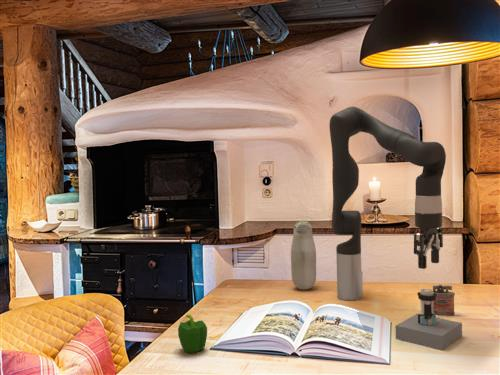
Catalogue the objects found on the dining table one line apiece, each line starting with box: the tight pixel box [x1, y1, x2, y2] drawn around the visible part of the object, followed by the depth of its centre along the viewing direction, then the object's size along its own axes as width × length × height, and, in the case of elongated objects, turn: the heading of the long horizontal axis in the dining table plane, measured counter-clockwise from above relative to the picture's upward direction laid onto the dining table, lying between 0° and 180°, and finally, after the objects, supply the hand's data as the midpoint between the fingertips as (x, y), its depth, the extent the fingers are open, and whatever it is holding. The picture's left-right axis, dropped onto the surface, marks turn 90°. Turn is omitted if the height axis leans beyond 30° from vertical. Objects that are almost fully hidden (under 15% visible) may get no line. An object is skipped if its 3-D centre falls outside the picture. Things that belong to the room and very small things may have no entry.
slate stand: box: [395, 313, 463, 351], centre depth 150 cm, size 14×14×4 cm
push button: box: [417, 288, 440, 325], centre depth 150 cm, size 7×5×10 cm
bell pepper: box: [177, 313, 208, 354], centre depth 146 cm, size 8×8×10 cm
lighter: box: [432, 283, 456, 317], centre depth 170 cm, size 8×3×10 cm, turn 70°
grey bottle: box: [290, 220, 317, 291], centre depth 206 cm, size 10×10×28 cm
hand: (428, 265), depth 148 cm, fingers open, 8 cm apart
